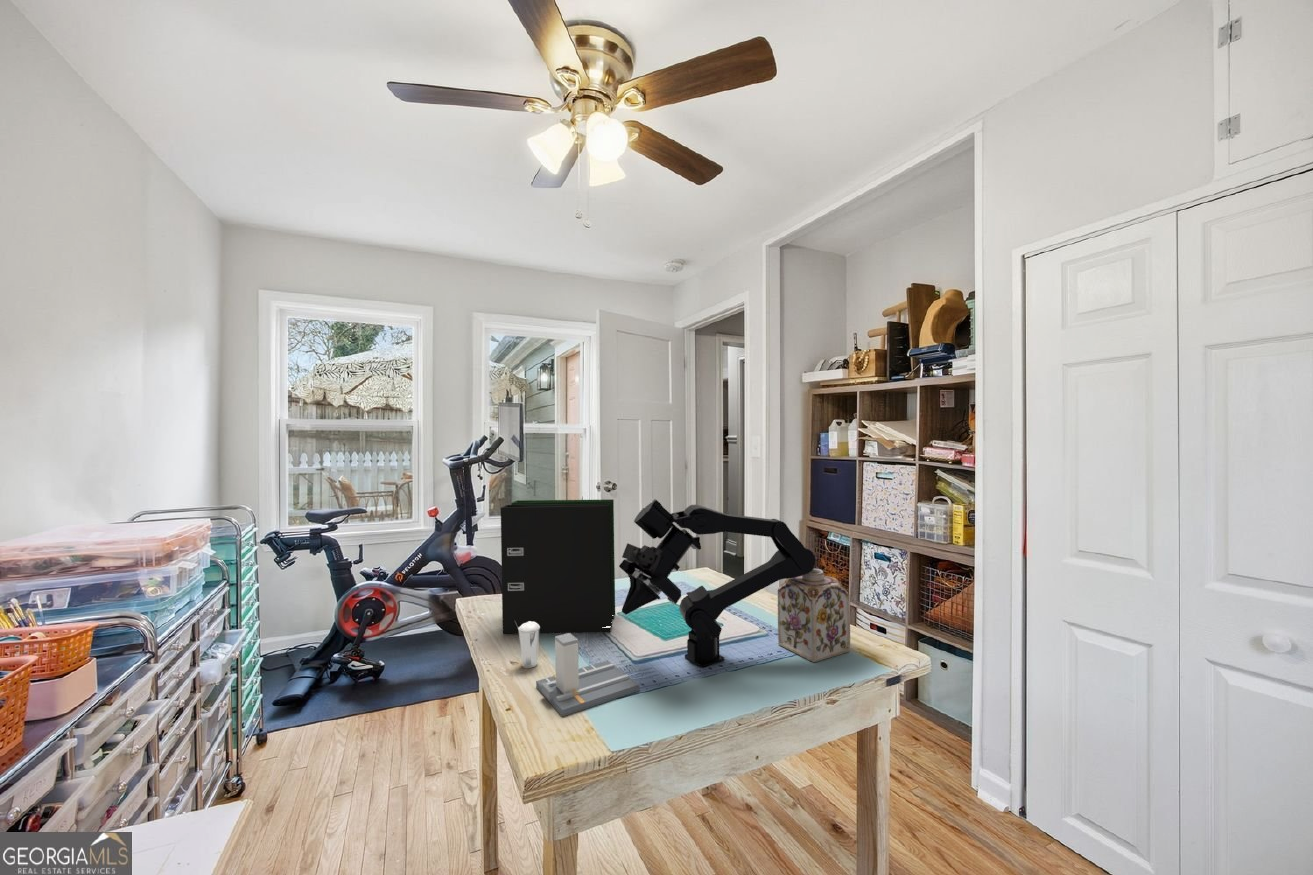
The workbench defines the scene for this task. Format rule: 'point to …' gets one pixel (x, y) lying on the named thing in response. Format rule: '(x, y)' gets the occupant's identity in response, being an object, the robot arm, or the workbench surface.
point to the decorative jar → (814, 616)
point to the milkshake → (529, 643)
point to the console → (589, 688)
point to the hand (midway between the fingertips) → (623, 612)
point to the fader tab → (566, 663)
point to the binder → (558, 565)
